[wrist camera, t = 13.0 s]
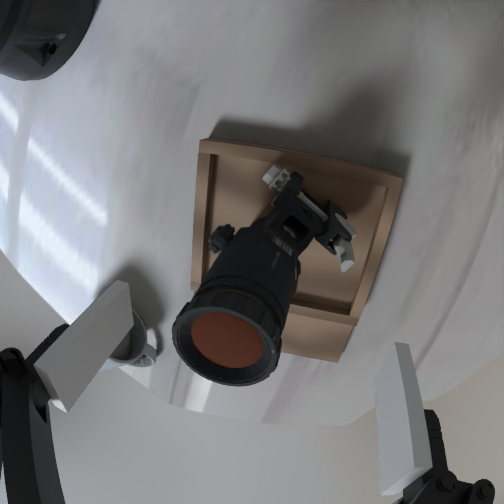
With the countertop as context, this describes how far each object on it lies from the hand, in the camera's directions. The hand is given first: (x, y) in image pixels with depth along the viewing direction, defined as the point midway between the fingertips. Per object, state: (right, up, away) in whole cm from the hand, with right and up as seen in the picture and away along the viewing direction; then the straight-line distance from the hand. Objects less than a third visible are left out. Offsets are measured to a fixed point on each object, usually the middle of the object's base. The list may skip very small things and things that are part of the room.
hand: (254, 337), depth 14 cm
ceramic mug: (-16, -6, +23) cm, 29 cm away
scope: (+2, +6, +12) cm, 14 cm away
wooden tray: (+3, +3, +14) cm, 15 cm away
